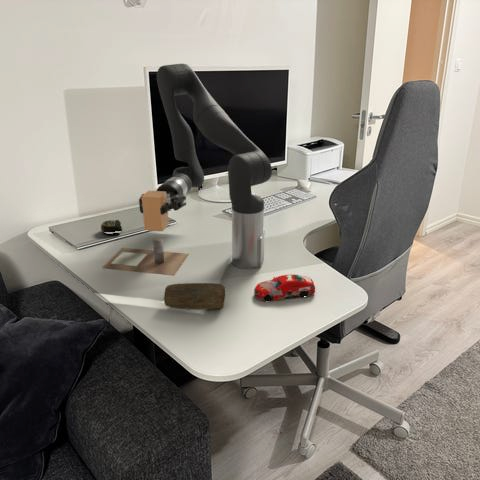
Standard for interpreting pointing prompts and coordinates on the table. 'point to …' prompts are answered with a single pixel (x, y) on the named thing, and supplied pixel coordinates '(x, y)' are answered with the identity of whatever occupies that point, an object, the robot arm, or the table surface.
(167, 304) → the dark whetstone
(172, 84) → the robot arm
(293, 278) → the race car
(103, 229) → the tape measure
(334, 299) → the table surface
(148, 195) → the tall wooden pillar
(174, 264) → the board
